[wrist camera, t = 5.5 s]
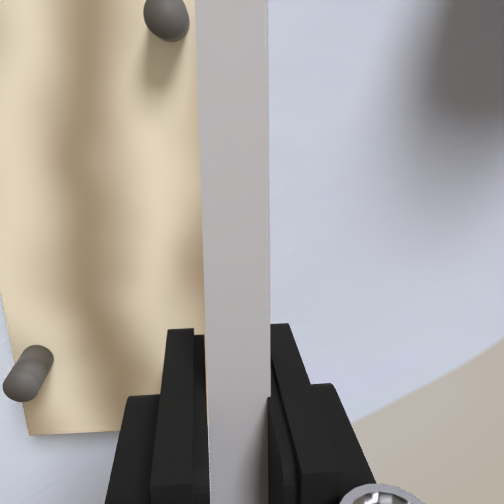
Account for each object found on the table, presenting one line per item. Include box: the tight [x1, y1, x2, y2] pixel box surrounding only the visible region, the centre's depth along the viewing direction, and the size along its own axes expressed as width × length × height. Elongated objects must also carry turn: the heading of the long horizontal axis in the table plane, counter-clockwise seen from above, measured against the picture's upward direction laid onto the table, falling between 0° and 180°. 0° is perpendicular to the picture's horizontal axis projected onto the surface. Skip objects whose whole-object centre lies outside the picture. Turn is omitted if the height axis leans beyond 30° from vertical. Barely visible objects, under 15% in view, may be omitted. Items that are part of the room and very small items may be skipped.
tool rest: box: [0, 0, 209, 436], centre depth 22 cm, size 10×26×4 cm, turn 179°
